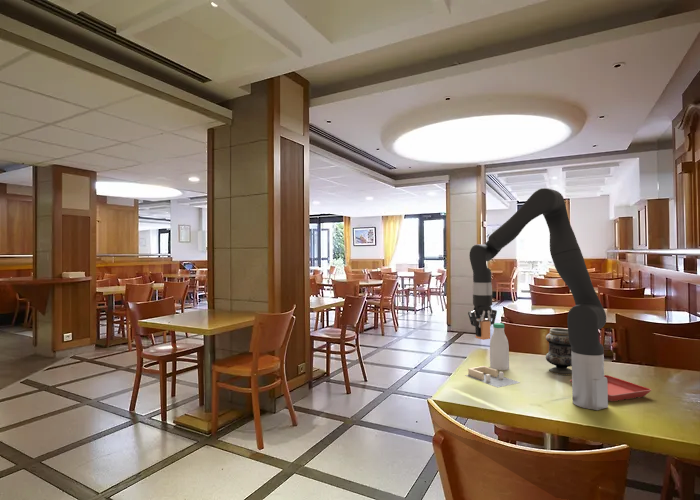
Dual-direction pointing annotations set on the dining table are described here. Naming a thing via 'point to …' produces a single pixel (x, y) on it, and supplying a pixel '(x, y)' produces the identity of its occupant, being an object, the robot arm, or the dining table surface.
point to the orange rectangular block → (484, 330)
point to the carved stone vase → (559, 351)
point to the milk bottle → (499, 348)
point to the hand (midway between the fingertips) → (483, 335)
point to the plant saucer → (623, 389)
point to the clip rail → (490, 376)
